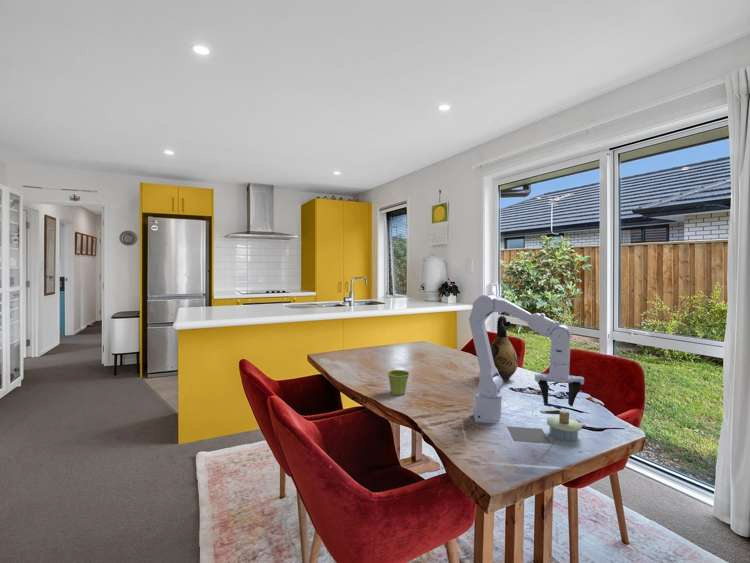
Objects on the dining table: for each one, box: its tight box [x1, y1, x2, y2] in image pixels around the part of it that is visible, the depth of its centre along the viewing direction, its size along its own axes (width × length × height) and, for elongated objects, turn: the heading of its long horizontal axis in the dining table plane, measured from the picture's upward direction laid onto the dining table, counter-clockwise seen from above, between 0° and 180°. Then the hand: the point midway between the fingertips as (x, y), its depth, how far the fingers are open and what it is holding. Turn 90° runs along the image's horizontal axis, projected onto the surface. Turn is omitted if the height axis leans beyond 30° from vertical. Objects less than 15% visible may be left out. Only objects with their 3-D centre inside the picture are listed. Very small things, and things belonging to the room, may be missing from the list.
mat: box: [506, 426, 552, 444], centre depth 129 cm, size 11×11×1 cm
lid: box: [546, 410, 583, 432], centre depth 128 cm, size 10×10×4 cm
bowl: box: [548, 426, 579, 442], centre depth 128 cm, size 8×8×4 cm
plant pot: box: [386, 369, 411, 396], centre depth 170 cm, size 9×9×9 cm
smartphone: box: [540, 408, 586, 427], centre depth 145 cm, size 7×16×1 cm, turn 13°
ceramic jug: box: [490, 315, 519, 382], centre depth 194 cm, size 17×15×30 cm
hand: (558, 404), depth 130 cm, fingers open, 7 cm apart
